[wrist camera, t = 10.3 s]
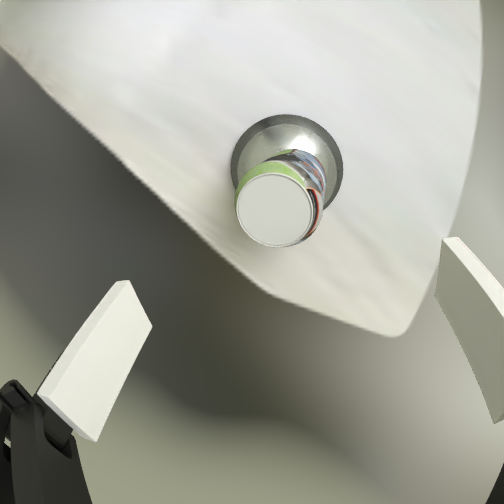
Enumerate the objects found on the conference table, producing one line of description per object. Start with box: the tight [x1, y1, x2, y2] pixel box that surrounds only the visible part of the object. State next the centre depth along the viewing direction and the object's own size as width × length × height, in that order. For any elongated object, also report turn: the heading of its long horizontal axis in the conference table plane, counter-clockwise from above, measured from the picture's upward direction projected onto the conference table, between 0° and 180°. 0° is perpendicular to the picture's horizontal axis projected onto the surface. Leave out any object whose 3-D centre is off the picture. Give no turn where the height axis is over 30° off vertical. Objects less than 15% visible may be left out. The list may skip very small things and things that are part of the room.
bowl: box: [231, 114, 343, 210], centre depth 29 cm, size 12×12×2 cm
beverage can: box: [235, 149, 326, 247], centre depth 23 cm, size 6×7×12 cm
